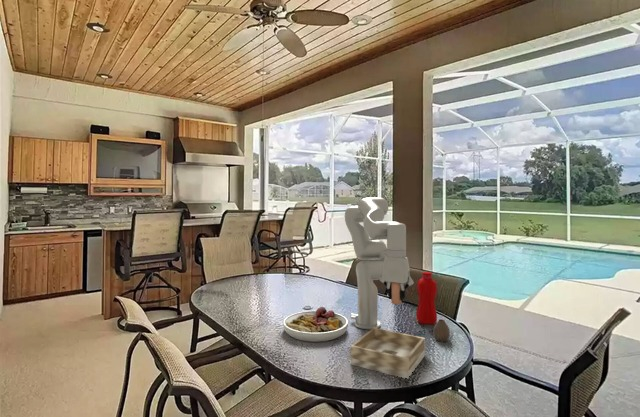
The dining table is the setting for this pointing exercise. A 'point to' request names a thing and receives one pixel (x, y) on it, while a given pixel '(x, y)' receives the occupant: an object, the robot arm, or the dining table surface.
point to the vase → (441, 331)
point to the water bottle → (426, 299)
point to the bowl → (315, 325)
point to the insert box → (388, 352)
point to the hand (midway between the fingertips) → (396, 298)
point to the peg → (395, 293)
